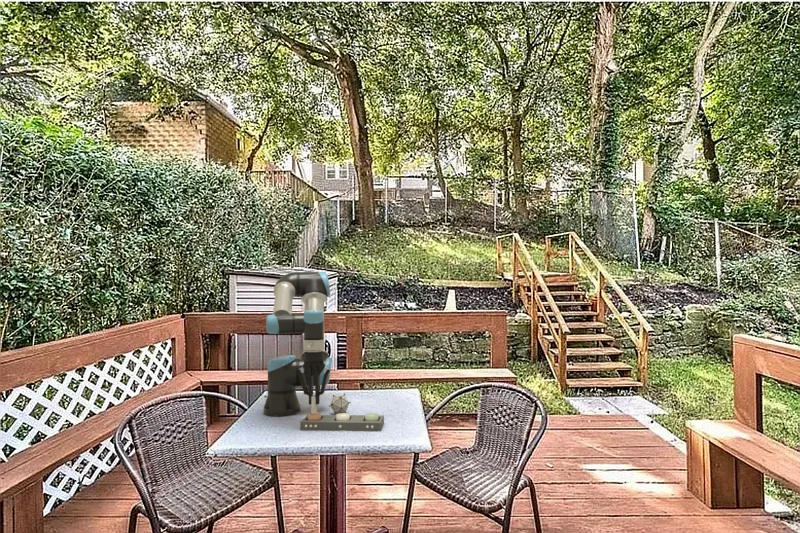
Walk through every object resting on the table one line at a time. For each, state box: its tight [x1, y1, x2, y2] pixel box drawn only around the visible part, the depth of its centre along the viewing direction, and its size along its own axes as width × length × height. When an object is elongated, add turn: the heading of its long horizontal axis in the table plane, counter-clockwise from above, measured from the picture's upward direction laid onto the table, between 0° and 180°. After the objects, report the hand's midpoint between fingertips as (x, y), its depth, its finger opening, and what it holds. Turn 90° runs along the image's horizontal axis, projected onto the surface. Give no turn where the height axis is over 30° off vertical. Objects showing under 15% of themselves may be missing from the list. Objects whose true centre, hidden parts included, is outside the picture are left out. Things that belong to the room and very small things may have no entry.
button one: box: [335, 412, 351, 421], centre depth 209 cm, size 5×5×4 cm
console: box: [299, 414, 385, 432], centre depth 209 cm, size 30×12×3 cm, turn 85°
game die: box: [328, 393, 352, 415], centre depth 229 cm, size 9×8×10 cm
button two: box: [365, 412, 379, 421], centre depth 208 cm, size 5×5×4 cm
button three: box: [307, 411, 322, 420], centre depth 210 cm, size 5×5×4 cm
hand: (314, 413), depth 210 cm, fingers closed
